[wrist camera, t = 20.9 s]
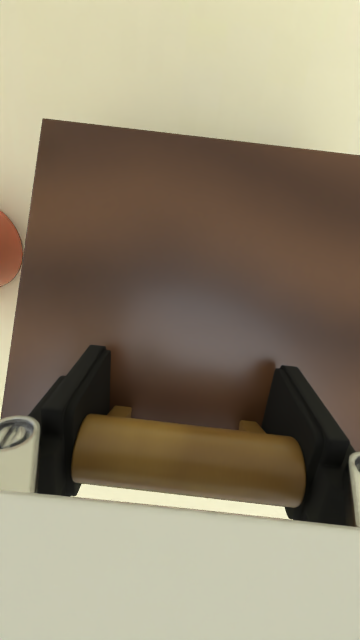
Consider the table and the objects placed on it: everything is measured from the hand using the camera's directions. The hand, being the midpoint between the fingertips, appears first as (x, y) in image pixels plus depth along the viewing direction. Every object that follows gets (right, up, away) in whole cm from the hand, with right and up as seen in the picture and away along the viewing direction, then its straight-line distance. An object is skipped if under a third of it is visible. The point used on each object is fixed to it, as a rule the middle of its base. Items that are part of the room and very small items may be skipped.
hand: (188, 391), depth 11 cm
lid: (0, +3, +2) cm, 4 cm away
